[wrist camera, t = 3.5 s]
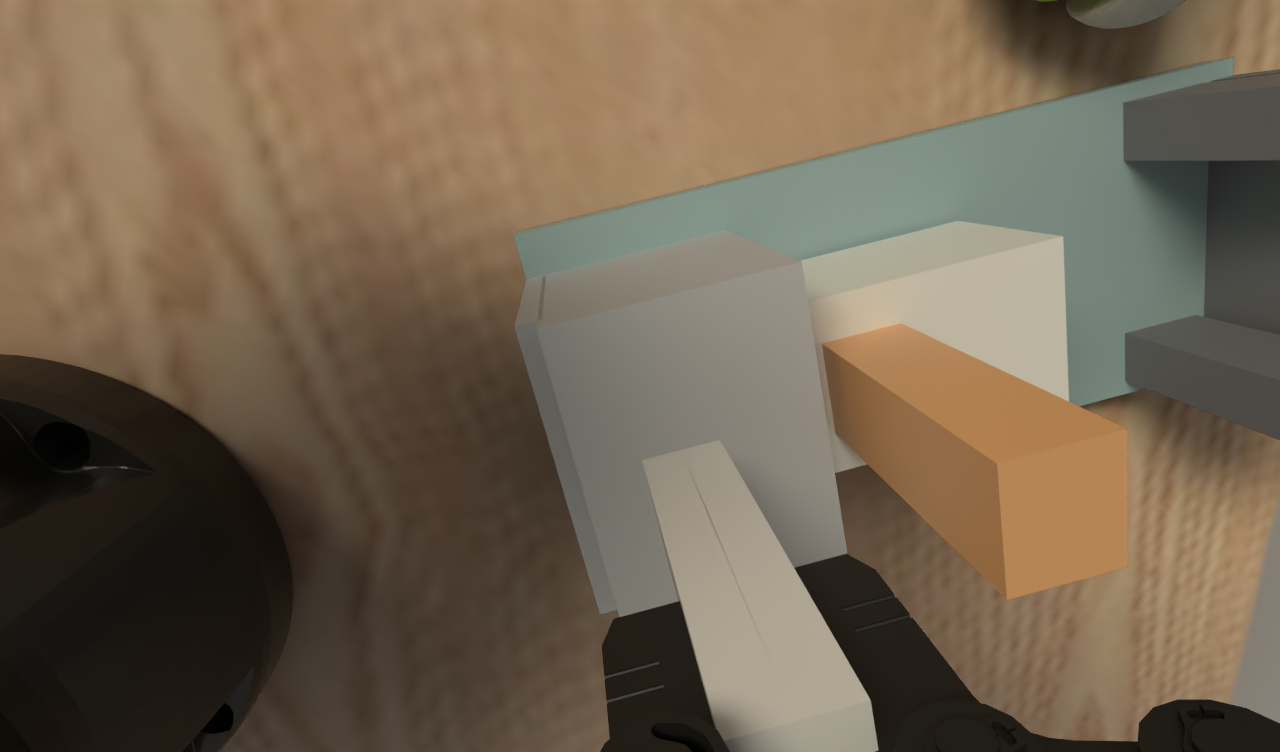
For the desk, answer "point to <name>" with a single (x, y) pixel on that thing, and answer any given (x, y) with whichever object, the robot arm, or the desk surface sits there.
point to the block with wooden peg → (971, 399)
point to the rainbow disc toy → (1118, 11)
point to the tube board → (876, 210)
